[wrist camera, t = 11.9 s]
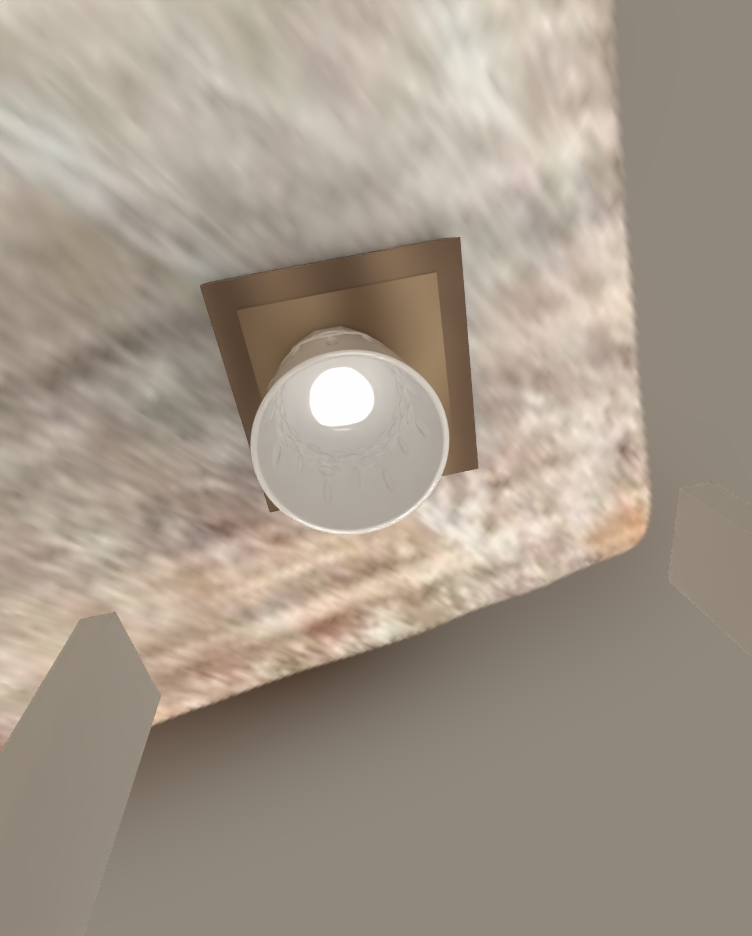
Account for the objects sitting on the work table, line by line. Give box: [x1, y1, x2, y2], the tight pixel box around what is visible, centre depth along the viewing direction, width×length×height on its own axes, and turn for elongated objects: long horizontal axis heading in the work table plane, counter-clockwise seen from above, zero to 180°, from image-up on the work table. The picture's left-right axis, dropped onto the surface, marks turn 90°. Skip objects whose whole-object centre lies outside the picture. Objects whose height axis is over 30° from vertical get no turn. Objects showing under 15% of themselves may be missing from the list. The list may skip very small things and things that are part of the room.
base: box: [200, 237, 478, 512], centre depth 29 cm, size 14×14×3 cm
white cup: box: [250, 326, 449, 535], centre depth 23 cm, size 8×8×10 cm
